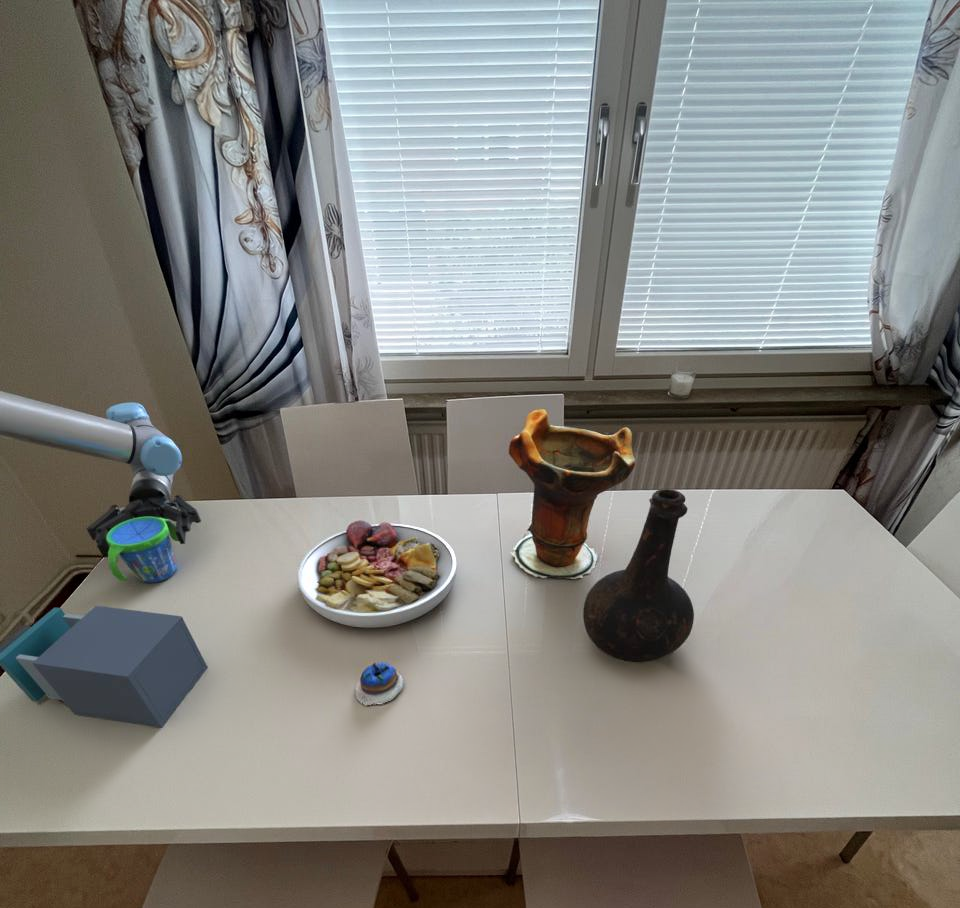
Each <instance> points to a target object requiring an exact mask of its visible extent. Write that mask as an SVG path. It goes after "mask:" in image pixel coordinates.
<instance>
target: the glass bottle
mask: <svg viewBox="0 0 960 908" xmlns="http://www.w3.org/2000/svg"><path fill="white" fill-rule="evenodd" d="M648 501H649V504H650V505H649V508H648V509H649V510H648V512H647V514H646V515H647V516H646V519H645V522H644V525H643V528H642V531H641V534H640V537H639V540H638V542H637V545H636V547H635V550H634V552H633V554H632V557H631V558H630V560H629V563H628V564H627V566H626V568H625V569H621V570H616V571H613V572H611V573H608V574H607V575H605V576H603V577H602V578H600V579H599V580H597V581H596V582H595V583H594V584H593V586H591V588H590V590H588V592H587V595H586V597H585V599H584V602H583V607H582V620H583V625H584V628H585V630H586V634H587V636H588V637H589V639H590V640H591V642H592V643H593V644H594V645H595V646H596V647H597V648H598V649H599V650H600V651H601V652H603V653H604V654H606V655H607V656H609V657H611V658H614V659H616V660H618V661H621V662H627V663H634V664H642V663H649V662H654V661H658V660H661V659H663V658H666V657H667V656H669V655H671V654H673V653H674V652H676V651H677V650H678V649H679V648H680V647H681V646H682V645H683V644H684V643H685V642H686V641H687V639H688V638H689V636H690V634H691V632H692V629H693V626H694V619H695V613H694V612H695V611H694V607H693V606H694V605H693V602H692V600H691V598H690V596H689V595H688V593H687V591H686V590H685V589H684V588H683V587H682V586H681V584H679V583H678V582H677V581H675V580H674V579H673V578H671V577H669V569H670V568H669V567H670V561H671V555H672V550H673V545H674V540H675V537H676V532H677V528H678V525H679V520H680V518H682V517H684V516H685V515H687V513H688V507H687V506H686V504H685V502H686V496H685V495H684V494H683V493H682V492H680V491H678V490H675V489H672V488H660V489H657V490H656V491H655V492H653V493H652V495H651V498H649V500H648Z"/></svg>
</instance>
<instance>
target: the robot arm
mask: <svg viewBox="0 0 960 908" xmlns="http://www.w3.org/2000/svg"><path fill="white" fill-rule="evenodd" d="M106 417H107V418H105V417H100V416H97V415H93V414H88V413H86V412H81V411H78V410H75V409H70V408H67V407H64V406H59V405H56V404H51V403H49V402H43V401H40V400H36V399H32V398H28V397H26V396H21V395H17V394H14V393H11V392H6V391H3V390H0V438H4V439H8V440H14V441H18V442H24V443H26V444H27V443H28V444H33V445H37V446H42V447H47V448H51V449H52V448H53V449H57V450H61V451H66V452H71V453H76V454H79V455H85V456H90V457H94V458H99V459H104V460H108V461H113V462H118V463H122V464H127V465H129V467H130V469H131V471H132V473H133V479H132V482H131V486H130V491H129V494H128V503H127V504H126V505H125V506H123V507H118V505H117V504H112V505H110V507H109V508H108V510H106V512H104V513H103V514H102V515H101V516H99V518H97V519H96V520H95V521H94V522H92V523H91V524H90V525H88V526H87V527H86V530H87V533H88V534H89V536H90V538H91V539H92V541H95V542H96V547H97V549H98V551H99V552H100V554H101V556H102V558H103V559H104V558H105V559H106V558H108V551H109V548H110V546H109V544H108V542H107V540H106V536H107V533H108V532H109V531H110V530H111V529H112V528H113V527H115V526H116V525H118V524H120V523H122V522H124V521H127V520H130V519H134V518H138V517H157V518H163V519H167V520H170V521H171V522H175V526H176V531H175V533H176V535H177V537H178V539H179V541H178V542H179V544H180V545H184V544H186V533H188V532H190V531H191V527H192V526H193V525H192V524H193V523H194V524H199V523H201V522H202V519H201V517H200V514H199V512H198V510H197V509H196V508H195V507H193V506H192V505H191V504H189V503H188V502H187V501H186V500H184V499H183V496H182V495H181V494H176V495H175V496H174V498H173V499H172V498H171V496H172V489H173V482H174V478H175V476H174V475H175V473H177V471H178V470H179V469H180V468H181V465H182V463H183V457H182V453H181V450H180V449H179V447H178V445H176V444H175V442H174V441H173V440H172V439H171V438H169V437H168V436H166V435H165V434H164V433H162V432H161V431H160V430H159V429H158V428H157V427H155V426H154V425H153V424H152V421H151V420H150V415H148V413H147V411H146V409H145V407H144V405H142V404H141V403H138V402H123V403H122V402H121V403H118V404H114V405H112V406H110V407H109V408H107V409H106Z"/></svg>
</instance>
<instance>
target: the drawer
mask: <svg viewBox="0 0 960 908" xmlns="http://www.w3.org/2000/svg"><path fill="white" fill-rule="evenodd" d="M84 616H85V615H79V614H72V613H65V612H64V610H63V609H62V608H61V607H53V608H52V609H51V610H49V611H48V612H47V613H46V614H45V615H44V616H43V617H41V618H40V619H39V620H38V621H36V622H35V623H34V624H33V625H32V626H31V625H29V624H25V623H24V624H23V625H22V626H20V627H19V628H18V629H17V630H15V631H14V632H13V633H12V634H11V635H9V636H8V637H7V638H6V639H5V640H3V641H2V642H1V643H0V667H1V669H2V670H3V671H4V672H5V673H6V674H7V675H8V676H9V677H10V679H11V680H13V682H14V683H15V684H16V685H17V686H18V687H19V689H20V690H21V691H22V692H23V693H24V694H25V695H26V696H27V698H29V700H30V701H31V702H36V703H39V702H40V701H41V700H42V699H43V698H44V697H45V696H47V697H48V698H49V699H54V700H61V701H63V700H62V699H61V698H60V696H59V695H58V694H57V693H56V691H55V690H54V689H53V688H52V687H51V685H50V684H49V683H48V682H47V681H46V679H45V678H44V677H43V676H42V675H41V673H40V672H39V671H38V670H37V669H36V667H35V666H34V665H33V664H32V663H33V662H34V661H35V660H36V659H37V658H38V657H40V656H41V655H42V654H43V653H44V652H45V651H46V650H47V649H48V648H50V647H51V646H52V645H53V644H54V643H55V642H56V641H57V640H58V639H59V638H61V637H62V636H63V635H64V634H65V633H66V632H67V631H68V630H69V629H71V628H72V627H73V626H74V625H75V624H76V623H77V622H78V621H79V620H80V619H82V618H83V617H84Z"/></svg>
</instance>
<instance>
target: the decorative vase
mask: <svg viewBox="0 0 960 908" xmlns="http://www.w3.org/2000/svg"><path fill="white" fill-rule="evenodd" d="M508 455H509V456H510V458H511V459H512V460H513V462H514V463H515V464H516V465H517V467H518V468H519V469H520V470H522V471H524V473H525V474H526V475H527V476H528V478H529V480H530V481H531V482H532V483H533V499H532V511H531V524H529V527H528V528H527V530H526V532H527V531H528V532H530V534H528V535H526V534H527V533H524V536H523V538H522V539H521V538H520V540H519V541H518V542H517V543H516V544H515V546H514V547H512V549H513V551H511V552H509V554H510V555H511V556H512V557H513V558H515V559H514V561H515V563H517V564H518V565H519V568H521V569H523V571H525V572H526V573H528V574H530V575H532V576H533V577H534V578H535V577H536V578H537V577H540V578H542V579H546V578H548V577H549V578H550V577H554V578H558V579H571V580H576V579H579V578H580V579H583V578H584V575H586V574H591V571H592V570H594V569H595V567H596V564H597V562H596V561H598V558H599V557H598V554H596V551H595V548H591V547H589V545H588V544H587V543H585V542H586V540H587V538H588V532H587V531H588V526H589V521H590V515H591V512H592V510H593V507H594V504H595V501H596V499H597V498H598V495H600V494H602V493H604V492H606V491H608V490H609V489H611V488H613V487H615V486H617V485H619V484H622V483H623V482H624V481H626V480H627V479H628V478H629V476H630V475H631V474H632V472H633V470H634V469H635V467H636V458H635V456H634V451H633V434H632V431H631V429H630V428H628V427H622V428H621V429H619V431H617V432H616V433H614V434H611V435H610V434H609V435H606V434H602V433H599V432H597V431H593V430H588V429H584V428H578V427H571V426H570V427H569V426H556V425H551V424H550V422H549V419H548V412H547V411H546V410H545V409H542V408H540V409H534V410H533V411H531V412H530V413H528V414H527V416H526V418H525V424H524V429H523V430H522V431H521V432H520V433H519V434H518V435H516V436H515V437H513V438H511V440H510V442H509V445H508Z"/></svg>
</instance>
